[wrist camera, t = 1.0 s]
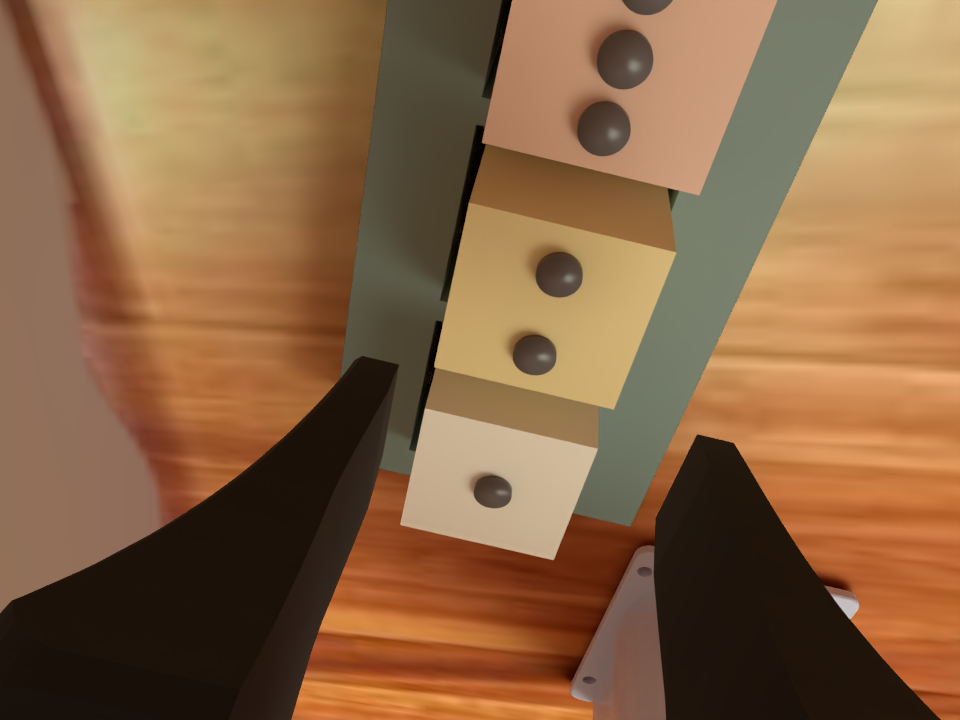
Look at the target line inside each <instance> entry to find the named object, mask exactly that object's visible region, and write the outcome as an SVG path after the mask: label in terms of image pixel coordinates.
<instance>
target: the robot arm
mask: <svg viewBox="0 0 960 720" xmlns="http://www.w3.org/2000/svg"><path fill="white" fill-rule="evenodd" d="M398 369H399V364H395V363H391V362H386V361H382V360H378V359H374V358H369V357H365V356H361V357H359V358H357V359H355V360H354V361H353V363H352V364H351V366H350V367H349V368H348V370H347V371H346V372H345V373H344V375H343V376H342V377H341V378H340V380H339V381H338V382H337V383H336V384H335V386H334V387H333V388H332V389H331V390H330V391H329V392H328V393H327V394H326V396H325V397H324V398H323V399H322V400H321V401H320V402H319V403H318V404H317V405H316V406H315V407H314V408H313V409H312V410H311V411H310V412H309V413H308V414H307V415H306V416H305V417H304V418H303V419H302V420H301V421H300V422H299V423H298V424H297V425H296V426H295V427H294V428H293V429H292V430H291V431H290V432H289V433H288V434H287V435H286V436H285V437H284V438H282V439H281V440H280V441H279V442H278V443H277V444H276V445H274V446H273V447H272V448H271V449H270V450H269V451H267V452H266V453H265V454H264V455H263V456H262V457H261V458H259V459H258V460H257V461H256V462H255V463H254V464H252V465H251V466H250V467H249V468H247V469H246V470H245V471H244V472H242V473H241V474H240V475H239V476H237V477H236V478H235V479H233V480H232V481H231V482H229V483H228V484H227V485H225V486H224V487H223V488H221V489H220V490H218V491H217V492H216V493H214V494H213V495H211V496H210V497H209V498H207V499H206V500H204V501H203V502H201V503H200V504H198V505H197V506H195V507H194V508H192V509H190V510H189V511H187V512H186V513H184V514H183V515H181V516H180V517H178V518H177V519H175V520H174V521H172V522H170V523H169V524H167V525H165V526H164V527H162V528H160V529H159V530H157V531H155V532H154V533H152V534H150V535H149V536H147V537H145V538H143V539H141V540H139V541H137V542H135V543H134V544H132V545H130V546H128V547H126V548H124V549H122V550H120V551H118V552H117V553H115V554H113V555H111V556H109V557H107V558H105V559H103V560H102V561H100V562H98V563H96V564H94V565H92V566H90V567H88V568H85V569H84V570H81V571H79V572H77V573H75V574H72V575H70V576H68V577H65V578H63V579H61V580H59V581H57V582H54V583H52V584H50V585H47V586H45V587H43V588H41V589H38V590H36V591H34V592H32V593H29V594H27V595H25V596H22V597H20V598H17V599H15V600H12V601H11V602H10V603H9V604H8V605H7V606H6V608H5V609H4V610H3V611H2V612H1V613H0V720H291V718H292V715H293V712H294V708H295V705H296V701H297V698H298V695H299V691H300V688H301V685H302V681H303V678H304V675H305V671H306V668H307V665H308V661H309V658H310V655H311V651H312V648H313V645H314V642H315V639H316V637H317V634H318V631H319V628H320V626H321V623H322V620H323V618H324V615H325V613H326V610H327V608H328V605H329V603H330V601H331V598H332V596H333V593H334V591H335V588H336V586H337V583H338V581H339V578H340V576H341V574H342V571H343V569H344V566H345V564H346V561H347V559H348V556H349V554H350V551H351V549H352V546H353V544H354V542H355V539H356V537H357V534H358V532H359V529H360V527H361V524H362V522H363V519H364V517H365V514H366V512H367V509H368V506H369V502H370V499H371V495H372V492H373V488H374V485H375V481H376V478H377V474H378V471H379V467H380V463H381V460H382V456H383V452H384V446H385V440H386V435H387V429H388V424H389V418H390V413H391V407H392V402H393V396H394V391H395V385H396V380H397V374H398ZM641 567H647V568H641ZM858 608H859V603H858V599H857V596H856V595H855V594H854V593H852V592H850V591H847V590H842V589H838V588H834V587H829V586H825V585H823V583H822V582H821V580H820V579H819V578H818V576H817V575H816V573H815V572H814V571H813V569H812V568H811V566H810V565H809V563H808V562H807V561H806V559H805V558H804V556H803V555H802V553H801V552H800V550H799V549H798V547H797V546H796V544H795V543H794V541H793V540H792V538H791V536H790V535H789V533H788V532H787V530H786V529H785V527H784V525H783V524H782V522H781V521H780V519H779V517H778V516H777V514H776V513H775V511H774V509H773V508H772V506H771V504H770V503H769V501H768V499H767V498H766V496H765V494H764V493H763V491H762V489H761V488H760V486H759V484H758V483H757V481H756V479H755V478H754V476H753V474H752V473H751V471H750V469H749V468H748V466H747V464H746V462H745V461H744V459H743V457H742V456H741V454H740V452H739V451H738V449H737V448H736V446H735V444H734V443H731V442H727V441H723V440H719V439H714V438H710V437H706V436H702V435H697V436H696V438H695V440H694V442H693V444H692V446H691V448H690V450H689V452H688V454H687V456H686V458H685V460H684V462H683V464H682V466H681V468H680V470H679V472H678V474H677V476H676V478H675V480H674V482H673V484H672V487H671V489H670V491H669V493H668V495H667V497H666V499H665V501H664V503H663V505H662V507H661V509H660V511H659V513H658V515H657V517H656V526H655V545H654V546H650V545H647V546H642V547H640V548H638V549H637V550H636V551H635V553H634V555H633V557H632V559H631V561H630V563H629V565H628V567H627V569H626V571H625V573H624V575H623V577H622V580H621V582H620V584H619V586H618V588H617V590H616V592H615V594H614V596H613V598H612V600H611V602H610V604H609V606H608V608H607V610H606V612H605V614H604V616H603V618H602V620H601V622H600V625H599V627H598V629H597V631H596V633H595V635H594V637H593V639H592V641H591V643H590V645H589V647H588V649H587V651H586V653H585V655H584V657H583V659H582V661H581V663H580V665H579V667H578V670H577V672H576V674H575V676H574V678H573V680H572V682H571V686H570V693H571V695H572V696H573V697H575V698H577V699H580V700H584V701H589V702H593V720H941V719H939V718H938V717H937V716H936V715H935V714H934V713H933V712H932V711H931V710H930V709H929V707H928V706H927V705H926V704H925V703H924V702H923V701H922V700H921V699H920V698H919V697H918V696H917V695H916V694H915V693H914V692H913V691H912V690H911V689H910V688H909V687H908V686H907V685H906V684H905V683H904V681H903V680H902V679H901V678H900V677H899V676H898V675H897V674H896V673H895V672H894V671H893V670H892V669H891V667H890V666H889V665H888V664H887V663H886V662H885V661H884V660H883V659H882V657H881V656H880V655H879V654H878V653H877V652H876V650H875V649H874V648H873V647H872V646H871V644H870V643H869V642H868V641H867V640H866V638H865V637H864V636H863V635H862V634H861V632H860V631H859V630H858V629H857V628H856V626H855V625H854V624H853V623H852V622H851V620H850V619H851V618H852V617H853V615H854V614H855V613H856V612H857V610H858Z"/></svg>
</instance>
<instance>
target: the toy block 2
mask: <svg viewBox="0 0 960 720" xmlns="http://www.w3.org/2000/svg"><path fill="white" fill-rule="evenodd" d="M676 253H677V252H676V245H675V237H674V230H673V223H672V216H671V209H670V202H669V194H668V188H666V187H662V186H658V185H654V184H650V183H646V182H642V181H637V180H633V179H629V178H625V177H621V176H617V175H613V174H609V173H604V172H600V171H596V170H592V169H588V168H584V167H580V166H576V165H571V164H567V163H563V162H559V161H555V160H551V159H547V158H542V157H538V156H534V155H530V154H526V153H522V152H518V151H514V150H509V149H505V148H501V147H497V146H493V145H489V144H486V146H485V150H484V153H483V156H482V160H481V163H480V167H479V170H478V173H477V177H476V180H475V184H474V187H473V191H472V194H471V197H470V201H469V205H468V209H467V214H466V219H465V223H464V228H463V233H462V238H461V242H460V247H459V252H458V256H457V261H456V266H455V270H454V275H453V280H452V284H451V289H450V294H449V298H448V303H447V308H446V312H445V317H444V322H443V326H442V331H441V336H440V340H439V345H438V350H437V354H436V359H435V364H434V367H435V368H439V369H443V370H447V371H452V372H456V373H460V374H465V375H469V376H473V377H477V378H482V379H486V380H490V381H494V382H499V383H503V384H507V385H511V386H516V387H520V388H524V389H528V390H533V391H537V392H541V393H545V394H550V395H554V396H558V397H562V398H567V399H571V400H575V401H579V402H584V403H588V404H592V405H596V406H601V407H605V408H609V409H613V410H614V408H615V405H616V403H617V400H618V398H619V395H620V393H621V390H622V388H623V385H624V383H625V380H626V378H627V375H628V373H629V370H630V368H631V365H632V363H633V360H634V358H635V355H636V353H637V350H638V348H639V345H640V343H641V340H642V338H643V335H644V333H645V330H646V328H647V325H648V323H649V320H650V318H651V315H652V313H653V310H654V308H655V305H656V303H657V300H658V298H659V295H660V293H661V290H662V288H663V285H664V283H665V280H666V278H667V275H668V273H669V270H670V268H671V265H672V263H673V260H674V258H675V255H676Z"/></svg>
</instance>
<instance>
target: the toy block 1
mask: <svg viewBox="0 0 960 720" xmlns="http://www.w3.org/2000/svg"><path fill="white" fill-rule="evenodd" d="M776 3H777V0H512V4H511V8H510V13H509V18H508V22H507V27H506V32H505V36H504V41H503V46H502V50H501V55H500V60H499V64H498V69H497V74H496V78H495V83H494V88H493V93H492V97H491V102H490V107H489V111H488V116H487V121H486V125H485V130H484V135H483V139H482V143H485V144H489V145H493V146H497V147H501V148H505V149H509V150H514V151H518V152H522V153H526V154H530V155H534V156H538V157H542V158H547V159H551V160H555V161H559V162H563V163H567V164H571V165H576V166H580V167H584V168H588V169H592V170H596V171H600V172H604V173H609V174H613V175H617V176H621V177H625V178H629V179H633V180H637V181H642V182H646V183H650V184H654V185H658V186H662V187H666V188H670V189H675V190H679V191H683V192H687V193H691V194H695V195H700V193H701V190H702V188H703V185H704V183H705V180H706V178H707V175H708V173H709V170H710V168H711V165H712V163H713V160H714V158H715V155H716V153H717V150H718V148H719V145H720V143H721V140H722V138H723V135H724V133H725V130H726V128H727V125H728V123H729V120H730V118H731V115H732V113H733V110H734V108H735V105H736V103H737V100H738V98H739V95H740V93H741V90H742V88H743V85H744V83H745V80H746V78H747V75H748V73H749V70H750V68H751V65H752V63H753V60H754V58H755V55H756V53H757V50H758V48H759V45H760V43H761V40H762V38H763V35H764V33H765V30H766V28H767V25H768V23H769V20H770V18H771V15H772V13H773V10H774V8H775V5H776Z"/></svg>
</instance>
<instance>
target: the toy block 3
mask: <svg viewBox="0 0 960 720" xmlns="http://www.w3.org/2000/svg"><path fill="white" fill-rule="evenodd" d="M598 412H599V406H596V405H592V404H588V403H584V402H579V401H575V400H571V399H567V398H562V397H558V396H554V395H550V394H545V393H541V392H537V391H533V390H528V389H524V388H520V387H516V386H511V385H507V384H503V383H499V382H494V381H490V380H486V379H482V378H477V377H473V376H469V375H465V374H460V373H456V372H452V371H447V370H443V369H439V368H436V369H435V373H434V377H433V380H432V384H431V388H430V392H429V395H428V399H427V403H426V406H425V411H424V415H423V420H422V425H421V429H420V434H419V439H418V443H417V448H416V453H415V457H414V462H413V467H412V471H411V476H410V481H409V485H408V490H407V495H406V499H405V504H404V509H403V514H402V518H401V523H400V525H402V526H407V527H411V528H416V529H420V530H424V531H429V532H433V533H437V534H442V535H446V536H450V537H455V538H459V539H463V540H468V541H472V542H476V543H481V544H485V545H489V546H494V547H498V548H503V549H507V550H511V551H516V552H520V553H524V554H529V555H533V556H537V557H542V558H546V559H550V560H554V558H555V556H556V553H557V551H558V548H559V546H560V543H561V541H562V538H563V536H564V533H565V531H566V528H567V526H568V523H569V521H570V518H571V516H572V513H573V511H574V508H575V506H576V503H577V501H578V498H579V496H580V493H581V490H582V488H583V485H584V483H585V480H586V478H587V475H588V473H589V470H590V468H591V465H592V463H593V460H594V458H595V455H596V453H597V450H598Z"/></svg>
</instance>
